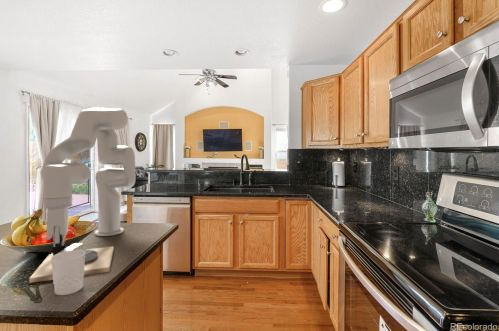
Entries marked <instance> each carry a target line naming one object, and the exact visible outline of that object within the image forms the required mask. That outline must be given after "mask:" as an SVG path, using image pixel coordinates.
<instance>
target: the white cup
mask: <svg viewBox="0 0 499 331" xmlns="http://www.w3.org/2000/svg"><path fill="white" fill-rule="evenodd" d="M51 261H52V274H53V280H52V281H53V282H52V283H53V286H54V289H53V290H54V294H55V295H57V296H66V295H72V294H74V293H77V292H78V291H81V290H82V288H83V287H84V277H85V275H84V266H85V252H84V251H82V250H70V251H64V252H61V253H58V254H55V255H54V256H52V257H51Z"/></svg>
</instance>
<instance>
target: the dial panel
mask: <svg viewBox="0 0 499 331" xmlns="http://www.w3.org/2000/svg"><path fill="white" fill-rule="evenodd" d="M114 248H115V247H114V246H105V247H96V248H88V249H84V250H94V251H96V252H97V253H98V257H97V258H96V259H95V260H93V261H91V262H88V263H85V266H84V276H87V275H94V274H95V273H96V274H101V273H102V274H103V273H108V272H110V271H111V267H112V266H111V265H112V261H113V255H114ZM50 253H51V254H50ZM50 253H49V254H48V255H47V256H46V258H45V259H44V260H43V261H42V263H41V264H39V266H38V267H37V269H36V270H35V271H34V272H33V274H32V275H31V276H29V280H28V281H29V284H33V283H38V282H46V281H53V274H52V261H51V257H52V256H53V252H50ZM96 274H95V275H96Z"/></svg>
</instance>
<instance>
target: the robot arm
mask: <svg viewBox="0 0 499 331" xmlns="http://www.w3.org/2000/svg"><path fill="white" fill-rule="evenodd" d="M127 124H128V115H127V112H126V111H125V110H124V109H122V108H105V107H101V108H100V107H91V108H87V109H83V110H81V111H80V112H79V113H78V115H77V118H76V121H75V122H74V125H73V128H72V131H71V133H70V136H69V137H68V138H66V139H65V140H63V141H62V142H60V143H59V144H57V145H56V146H54V147H53V148H52V149H51V150H50V151H49V152H48V153H47V156H46V157H45V160H44V162H43V165H42V168H41V172H40V173H41V180H43V209H46V210H47V211H46V213H47V214H46V231H47V237H46V239H47V240H50V239H51V238H52V236H53V252H52V253H53V256H54V255H55V254H58V253H59V252H60V251H62V250H64V249H65V248H66V236H67V234H68V232H69V231H68V230H69V229H68V228H69V208H70V207H72V206H73V185H81V184H85V183H86V182H87V181H88V180H89V179H90V177H91V170H90V168H89V166H87V165H86V164H84V163H77V162H64V161H65V160H67V159H69V157H71V156H74V155H78V154H80V153H83V152H86V151H88V150H91V149H92V148H93V147H94V146H95V145H96V144H97V157H98V162H99V164H101V165H103V166H122V167H104V168H100V169H98V170H97V171H96V173H95V175H94V176H95V183H96V187H97V215H98V216H97V218H98V219H97V221H98V222H97V225H98V227H97V229H96V230H95V231H94V236H97V237H109V236H110V237H111V236H115V235H116V236H117V235H120V234H122V233H124V231H125V229H124V227H121V196H120V193H119V191H118V190H117V189H116V188H118V189H119V188H123V189H124V188H125V189H127V188H132V187H134V186H135V184H136V180H137V179H136V177H137V176H136V156H135V150H134V149H133V147H131V146H129V145H119V144H118V135H117V133H116V131H117V130H121V129H124V128H125V127H126V126H127ZM96 141H97V142H96Z"/></svg>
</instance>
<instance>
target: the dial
mask: <svg viewBox="0 0 499 331" xmlns="http://www.w3.org/2000/svg"><path fill="white" fill-rule="evenodd" d="M70 250H82V251H84V252H85V263H88V262H91V261H93V260H95V259H96V258H97V257H98V253H97V252H96V251H94V250H85V249H84V243H83V242H82V243H81V242H79V243H77V242H75V243H71V244H70V245H69V246H66V247H65V249H64V250H62V251H60V252H59V253H61V252H64V251H70Z"/></svg>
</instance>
